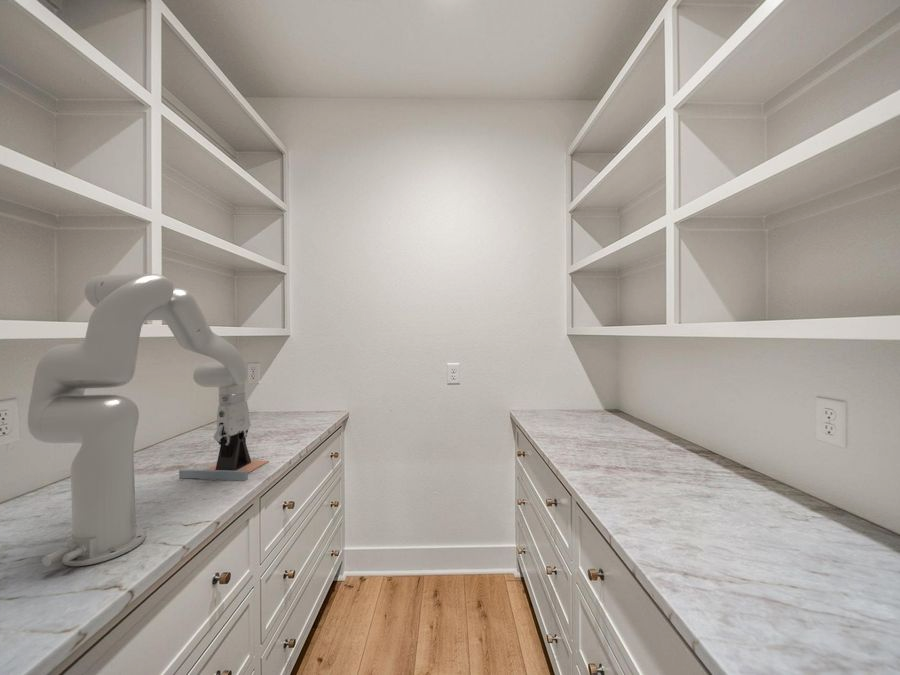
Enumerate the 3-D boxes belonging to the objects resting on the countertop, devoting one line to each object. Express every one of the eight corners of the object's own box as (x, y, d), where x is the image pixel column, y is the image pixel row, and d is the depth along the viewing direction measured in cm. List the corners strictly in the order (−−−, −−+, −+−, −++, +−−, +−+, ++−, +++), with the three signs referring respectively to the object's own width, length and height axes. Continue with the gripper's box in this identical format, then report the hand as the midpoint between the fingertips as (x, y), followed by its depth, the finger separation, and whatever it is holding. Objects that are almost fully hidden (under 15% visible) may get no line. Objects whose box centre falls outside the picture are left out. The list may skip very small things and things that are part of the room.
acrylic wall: (245, 480, 111) (244, 472, 111) (179, 478, 114) (179, 470, 114) (247, 479, 112) (247, 471, 112) (182, 476, 115) (182, 468, 115)
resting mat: (243, 476, 114) (242, 475, 114) (196, 474, 116) (196, 473, 116) (268, 461, 127) (268, 460, 127) (226, 460, 129) (226, 459, 129)
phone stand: (232, 472, 117) (231, 434, 117) (215, 471, 118) (213, 434, 117) (251, 462, 126) (250, 427, 126) (235, 462, 127) (234, 427, 126)
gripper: (223, 404, 113) (224, 463, 113) (259, 394, 130) (261, 445, 130) (200, 403, 114) (202, 462, 114) (240, 394, 131) (241, 445, 131)
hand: (233, 452), depth 122 cm, fingers open, 6 cm apart
